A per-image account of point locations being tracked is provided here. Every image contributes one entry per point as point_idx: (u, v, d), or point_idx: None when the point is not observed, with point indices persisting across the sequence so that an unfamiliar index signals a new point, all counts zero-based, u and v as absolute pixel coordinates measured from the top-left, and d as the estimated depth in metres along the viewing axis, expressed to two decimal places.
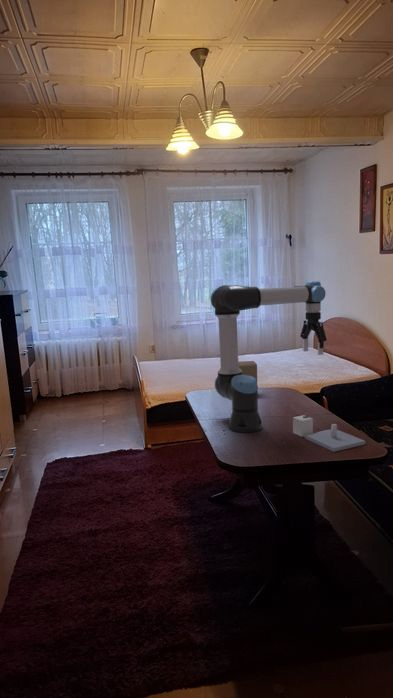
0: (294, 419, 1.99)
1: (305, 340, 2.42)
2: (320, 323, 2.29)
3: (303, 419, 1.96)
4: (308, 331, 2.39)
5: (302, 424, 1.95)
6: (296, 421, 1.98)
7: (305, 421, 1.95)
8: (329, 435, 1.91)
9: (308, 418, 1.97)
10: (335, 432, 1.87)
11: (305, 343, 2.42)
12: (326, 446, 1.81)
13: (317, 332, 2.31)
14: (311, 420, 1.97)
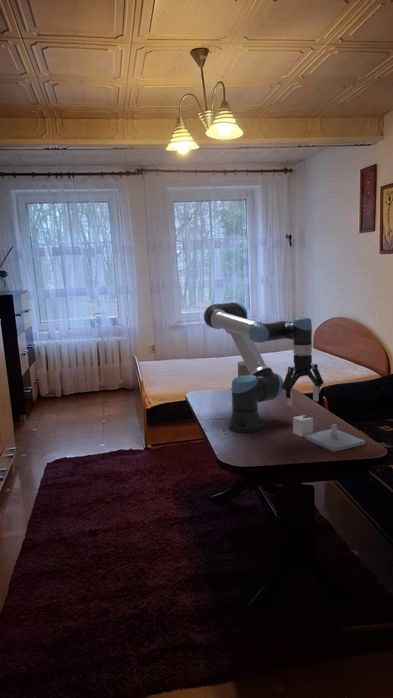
0: (294, 419, 1.99)
1: (314, 387, 1.99)
2: (289, 369, 1.92)
3: (303, 419, 1.96)
4: (310, 377, 1.97)
5: (302, 424, 1.95)
6: (296, 421, 1.98)
7: (305, 421, 1.95)
8: (329, 435, 1.91)
9: (308, 418, 1.97)
10: (335, 432, 1.87)
11: (314, 391, 1.99)
12: (326, 446, 1.81)
13: (291, 378, 1.94)
14: (311, 420, 1.97)
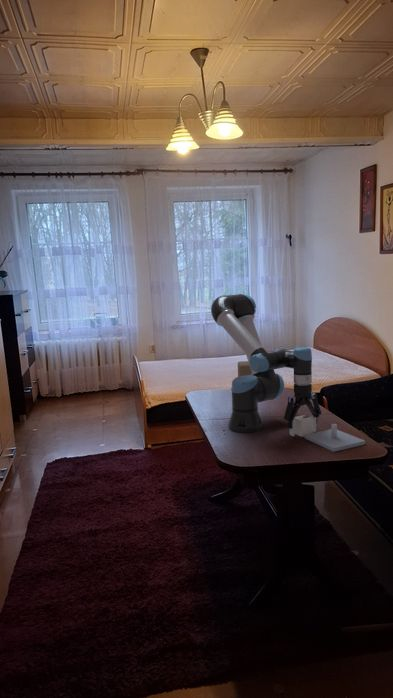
0: (294, 419, 1.99)
1: (312, 418, 2.01)
2: (289, 399, 1.94)
3: (303, 419, 1.96)
4: (308, 406, 1.99)
5: (302, 424, 1.95)
6: (296, 421, 1.98)
7: (305, 421, 1.95)
8: (329, 435, 1.91)
9: (308, 418, 1.97)
10: (335, 432, 1.87)
11: None
12: (326, 446, 1.81)
13: (292, 408, 1.96)
14: (311, 420, 1.97)
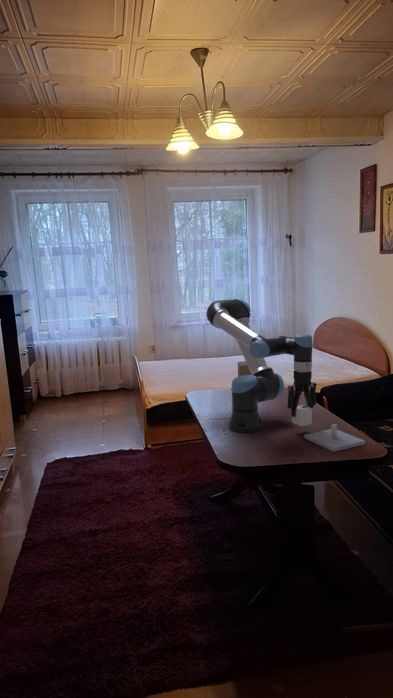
0: None
1: None
2: (289, 388, 1.94)
3: (302, 409, 1.96)
4: (305, 395, 1.98)
5: (301, 414, 1.95)
6: None
7: (304, 411, 1.95)
8: (329, 435, 1.91)
9: (307, 408, 1.97)
10: (335, 432, 1.87)
11: None
12: (326, 446, 1.81)
13: (294, 396, 1.96)
14: (310, 410, 1.96)
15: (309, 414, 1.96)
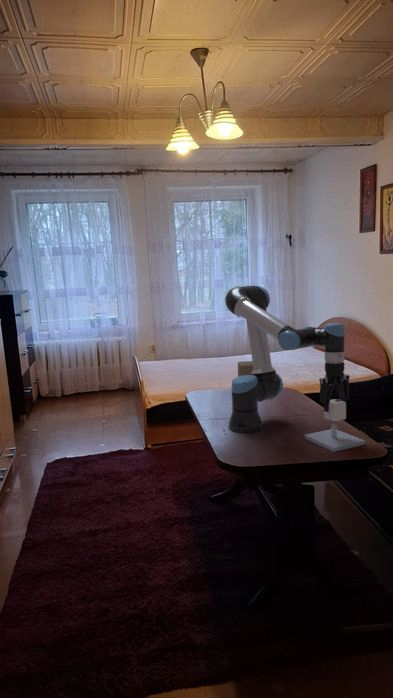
0: None
1: None
2: (321, 381, 1.82)
3: (335, 402, 1.84)
4: (338, 388, 1.86)
5: (335, 408, 1.82)
6: None
7: (338, 404, 1.83)
8: (329, 435, 1.91)
9: (341, 401, 1.85)
10: (335, 432, 1.87)
11: None
12: (326, 446, 1.81)
13: (326, 390, 1.85)
14: (344, 403, 1.84)
15: (343, 408, 1.84)
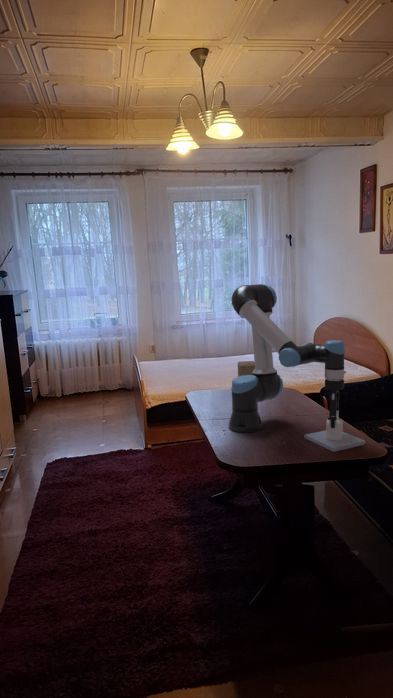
0: None
1: None
2: (333, 396, 1.79)
3: (338, 422, 1.86)
4: None
5: (341, 427, 1.84)
6: None
7: (342, 423, 1.86)
8: None
9: (339, 420, 1.88)
10: None
11: (334, 415, 1.93)
12: (326, 446, 1.81)
13: None
14: (342, 421, 1.89)
15: (342, 426, 1.88)
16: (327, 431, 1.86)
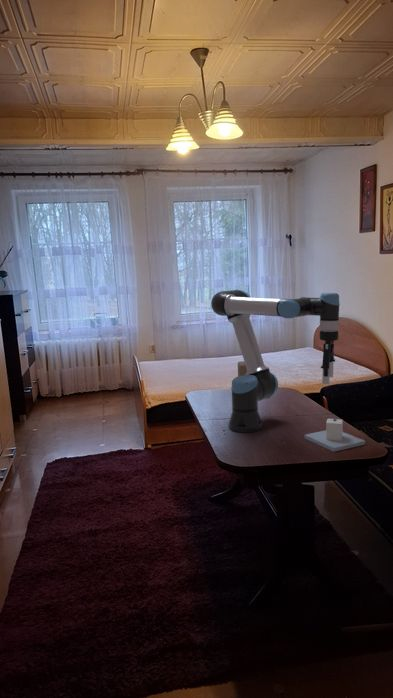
0: (329, 424, 1.85)
1: (329, 363, 1.99)
2: (326, 346, 1.85)
3: (338, 422, 1.86)
4: None
5: (341, 427, 1.84)
6: (332, 426, 1.85)
7: (342, 423, 1.86)
8: None
9: (339, 420, 1.88)
10: None
11: (329, 367, 1.99)
12: (326, 446, 1.81)
13: None
14: (342, 421, 1.89)
15: (342, 426, 1.88)
16: (327, 431, 1.86)
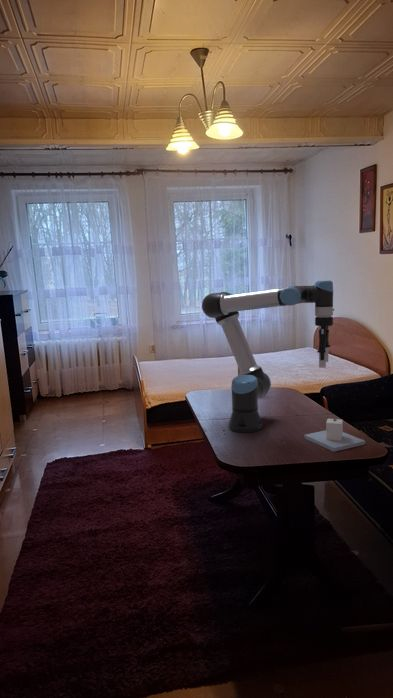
0: (329, 424, 1.85)
1: None
2: (322, 331, 1.93)
3: (338, 422, 1.86)
4: None
5: (341, 427, 1.84)
6: (332, 426, 1.85)
7: (342, 423, 1.86)
8: None
9: (339, 420, 1.88)
10: None
11: None
12: (326, 446, 1.81)
13: None
14: (342, 421, 1.89)
15: (342, 426, 1.88)
16: (327, 431, 1.86)
